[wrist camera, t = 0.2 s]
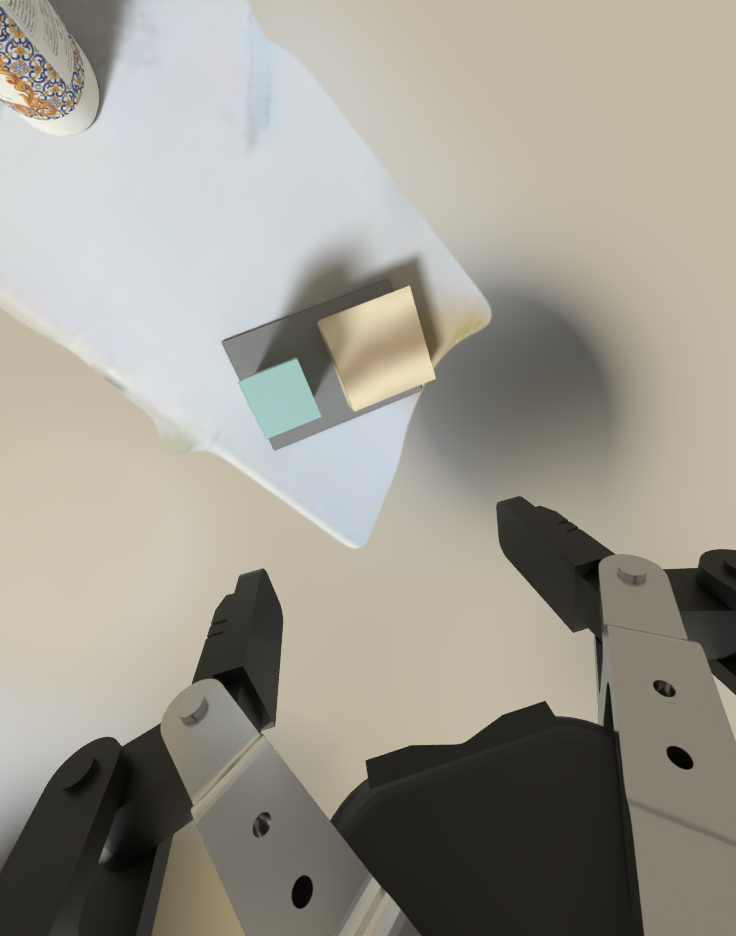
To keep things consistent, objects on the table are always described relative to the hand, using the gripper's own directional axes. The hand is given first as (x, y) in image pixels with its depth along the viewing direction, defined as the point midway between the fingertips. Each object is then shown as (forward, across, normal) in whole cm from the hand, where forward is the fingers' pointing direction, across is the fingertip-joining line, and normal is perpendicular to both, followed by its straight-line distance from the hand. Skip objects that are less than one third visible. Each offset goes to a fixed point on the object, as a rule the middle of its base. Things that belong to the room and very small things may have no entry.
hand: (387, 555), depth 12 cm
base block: (+29, -6, -4) cm, 30 cm away
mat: (+29, -1, -3) cm, 29 cm away
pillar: (+29, +4, -3) cm, 29 cm away
